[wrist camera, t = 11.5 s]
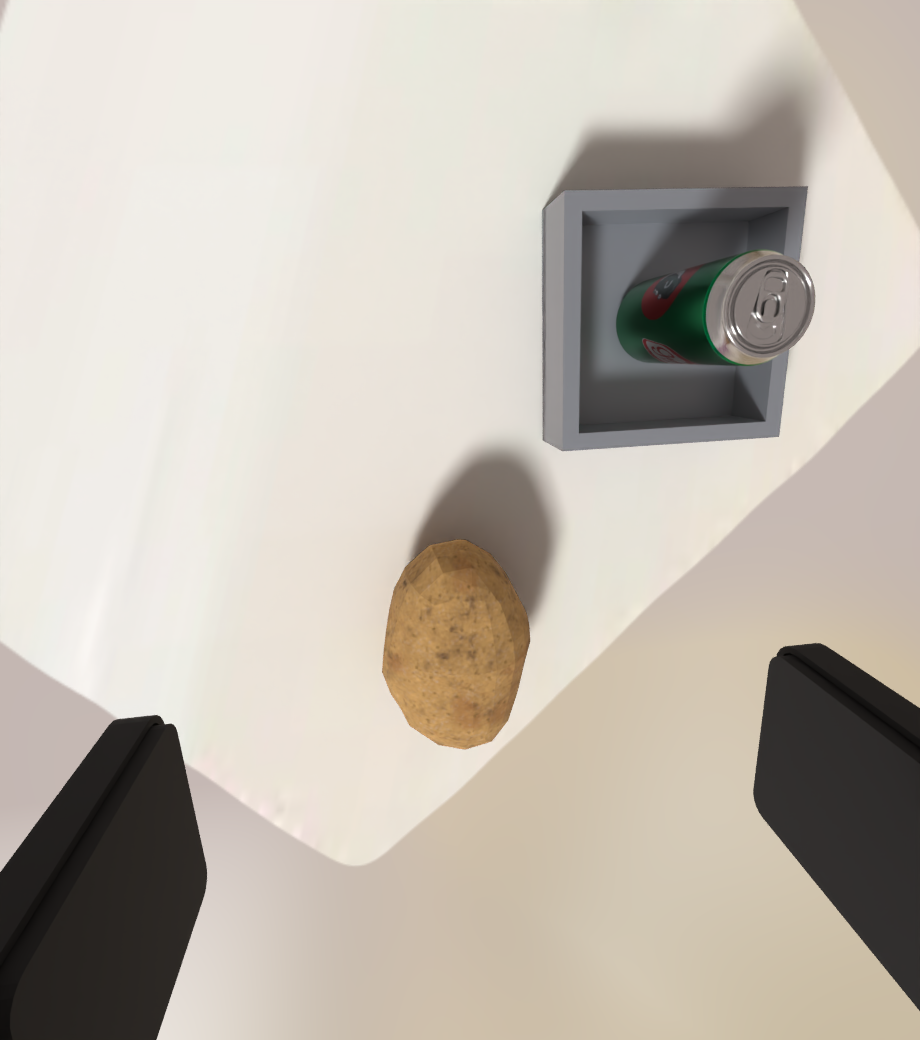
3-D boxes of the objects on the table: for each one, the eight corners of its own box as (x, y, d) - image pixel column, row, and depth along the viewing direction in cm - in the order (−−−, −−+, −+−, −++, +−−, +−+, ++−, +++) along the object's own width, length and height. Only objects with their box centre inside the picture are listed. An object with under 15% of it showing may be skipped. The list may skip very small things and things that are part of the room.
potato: (515, 514, 40) (546, 552, 32) (513, 690, 44) (540, 760, 36) (375, 521, 39) (373, 562, 31) (386, 701, 43) (386, 776, 35)
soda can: (607, 360, 37) (706, 363, 26) (618, 276, 36) (728, 239, 24) (680, 365, 38) (809, 370, 26) (693, 282, 36) (836, 250, 25)
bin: (542, 210, 35) (564, 190, 30) (757, 206, 36) (807, 186, 32) (542, 440, 39) (562, 451, 34) (737, 427, 40) (778, 436, 36)
